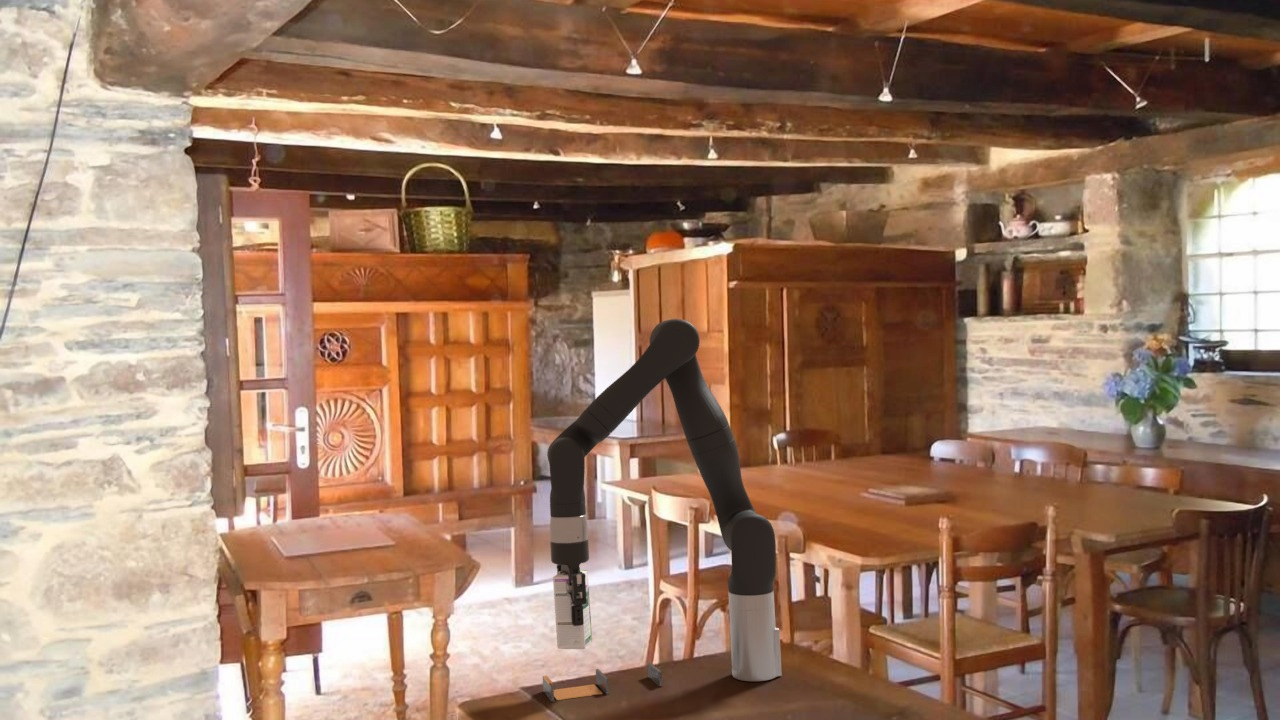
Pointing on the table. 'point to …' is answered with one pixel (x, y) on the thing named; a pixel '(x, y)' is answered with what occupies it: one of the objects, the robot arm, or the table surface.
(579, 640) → the syrup box
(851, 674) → the table surface
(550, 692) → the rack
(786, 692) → the table surface
